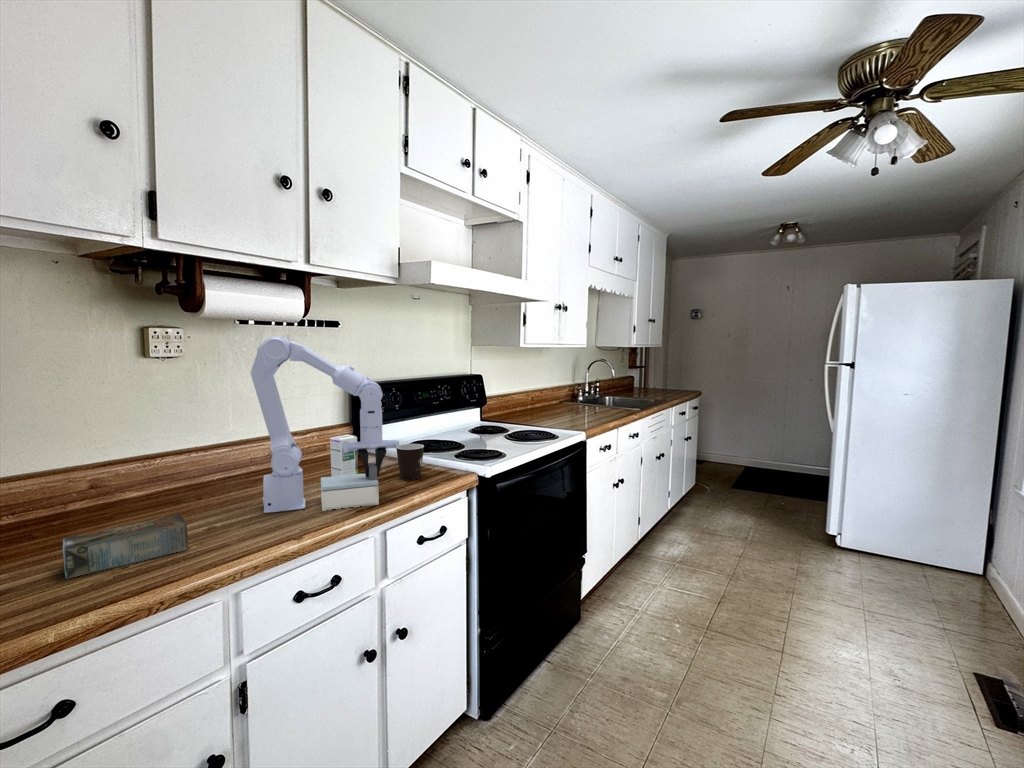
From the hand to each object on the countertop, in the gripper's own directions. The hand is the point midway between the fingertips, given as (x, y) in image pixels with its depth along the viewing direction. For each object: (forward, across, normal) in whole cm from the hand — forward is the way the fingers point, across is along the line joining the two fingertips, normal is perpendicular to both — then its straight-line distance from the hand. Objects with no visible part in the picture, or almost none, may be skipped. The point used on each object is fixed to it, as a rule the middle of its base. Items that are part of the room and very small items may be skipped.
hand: (372, 475), depth 133 cm
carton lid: (+1, -6, 0) cm, 6 cm away
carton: (+7, -6, 0) cm, 9 cm away
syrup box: (+7, -6, +19) cm, 21 cm away
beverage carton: (+7, -49, -20) cm, 53 cm away
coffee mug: (+7, +15, +19) cm, 25 cm away
